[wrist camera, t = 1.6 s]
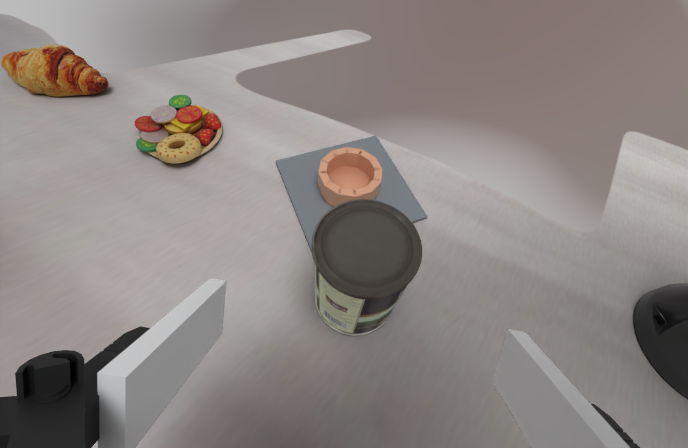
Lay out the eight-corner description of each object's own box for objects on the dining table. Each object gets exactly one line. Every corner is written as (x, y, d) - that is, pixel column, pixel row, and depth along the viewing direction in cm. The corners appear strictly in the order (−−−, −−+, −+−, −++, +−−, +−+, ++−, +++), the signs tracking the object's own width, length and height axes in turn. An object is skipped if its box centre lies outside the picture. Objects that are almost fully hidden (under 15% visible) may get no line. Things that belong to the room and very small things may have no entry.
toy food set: (182, 179, 50) (174, 165, 48) (122, 144, 53) (111, 129, 51) (239, 130, 57) (235, 115, 54) (183, 101, 60) (176, 85, 57)
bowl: (363, 159, 54) (366, 141, 50) (387, 202, 50) (392, 185, 46) (311, 173, 52) (310, 156, 48) (332, 219, 47) (333, 203, 44)
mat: (375, 137, 57) (375, 135, 57) (426, 218, 49) (427, 216, 49) (276, 162, 53) (275, 160, 53) (313, 256, 45) (313, 254, 44)
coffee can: (394, 264, 45) (422, 205, 33) (391, 341, 39) (423, 304, 27) (320, 254, 45) (321, 191, 33) (307, 329, 39) (301, 287, 27)
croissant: (14, 95, 62) (-38, 72, 54) (30, 46, 63) (-19, 17, 55) (114, 117, 60) (76, 97, 52) (129, 66, 61) (93, 39, 53)
